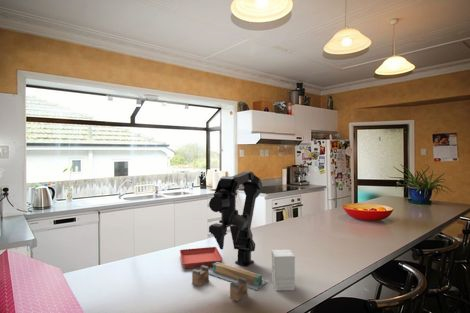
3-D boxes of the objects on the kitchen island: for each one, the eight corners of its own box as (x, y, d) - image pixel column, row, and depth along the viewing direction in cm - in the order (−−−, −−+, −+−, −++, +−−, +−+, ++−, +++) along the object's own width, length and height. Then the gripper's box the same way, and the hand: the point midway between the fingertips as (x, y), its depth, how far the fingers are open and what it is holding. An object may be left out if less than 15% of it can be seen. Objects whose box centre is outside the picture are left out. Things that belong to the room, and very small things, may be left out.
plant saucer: (181, 271, 116) (181, 263, 116) (179, 256, 134) (179, 249, 134) (223, 267, 121) (223, 259, 121) (216, 253, 138) (216, 246, 138)
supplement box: (290, 281, 107) (290, 249, 107) (295, 290, 99) (295, 256, 99) (271, 281, 106) (271, 249, 106) (274, 291, 99) (274, 256, 99)
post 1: (202, 278, 109) (203, 265, 109) (208, 280, 107) (208, 267, 107) (192, 283, 104) (192, 270, 104) (198, 286, 102) (198, 272, 102)
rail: (217, 268, 117) (217, 261, 117) (262, 283, 104) (262, 275, 104) (212, 271, 114) (212, 264, 114) (257, 286, 102) (257, 277, 102)
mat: (219, 267, 119) (219, 266, 119) (267, 282, 105) (267, 281, 105) (206, 273, 113) (206, 272, 113) (256, 290, 99) (256, 289, 99)
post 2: (240, 291, 98) (240, 277, 98) (247, 294, 97) (247, 279, 97) (230, 298, 93) (230, 283, 93) (237, 301, 92) (237, 285, 92)
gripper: (232, 214, 99) (232, 257, 99) (257, 206, 114) (256, 243, 114) (208, 210, 105) (207, 251, 105) (234, 203, 120) (234, 239, 120)
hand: (228, 246), depth 111 cm, fingers open, 9 cm apart
